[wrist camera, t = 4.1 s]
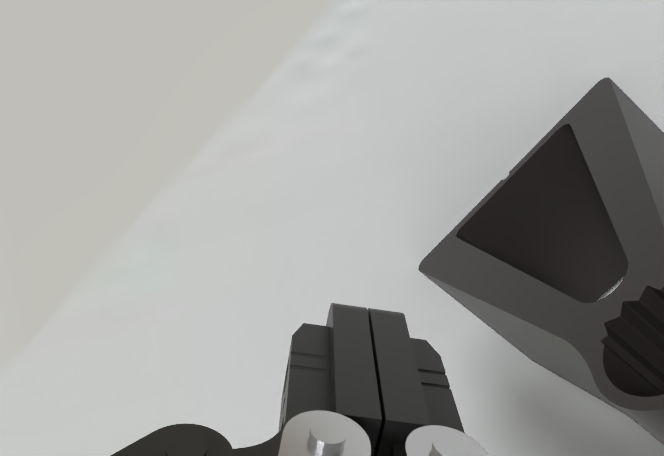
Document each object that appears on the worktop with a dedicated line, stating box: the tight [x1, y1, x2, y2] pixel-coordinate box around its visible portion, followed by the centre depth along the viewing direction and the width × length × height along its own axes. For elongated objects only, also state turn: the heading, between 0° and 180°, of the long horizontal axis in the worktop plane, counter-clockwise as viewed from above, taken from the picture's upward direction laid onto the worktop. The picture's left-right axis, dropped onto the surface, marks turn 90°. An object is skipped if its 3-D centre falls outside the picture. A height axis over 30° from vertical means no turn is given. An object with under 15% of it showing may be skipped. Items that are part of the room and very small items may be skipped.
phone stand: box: [419, 78, 664, 444], centre depth 17 cm, size 9×6×12 cm, turn 139°
